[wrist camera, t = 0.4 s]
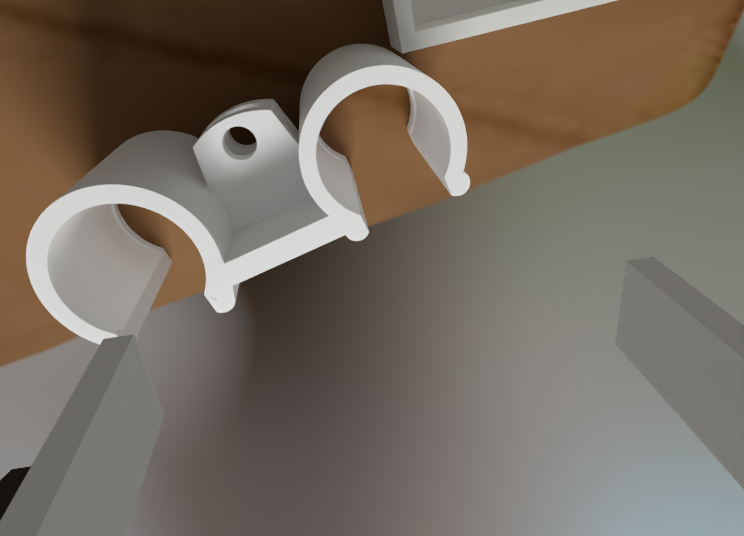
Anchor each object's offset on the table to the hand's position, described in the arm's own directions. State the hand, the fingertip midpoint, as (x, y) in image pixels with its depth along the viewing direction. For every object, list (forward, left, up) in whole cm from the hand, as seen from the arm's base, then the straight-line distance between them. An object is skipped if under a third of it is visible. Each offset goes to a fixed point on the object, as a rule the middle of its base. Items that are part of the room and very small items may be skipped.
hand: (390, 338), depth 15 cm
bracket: (+1, -6, -28) cm, 29 cm away
